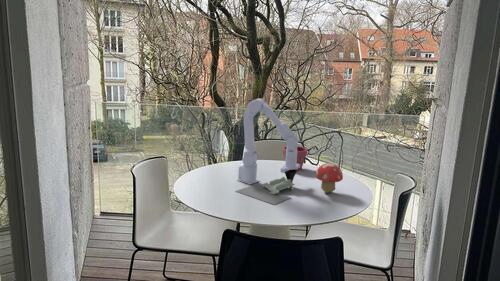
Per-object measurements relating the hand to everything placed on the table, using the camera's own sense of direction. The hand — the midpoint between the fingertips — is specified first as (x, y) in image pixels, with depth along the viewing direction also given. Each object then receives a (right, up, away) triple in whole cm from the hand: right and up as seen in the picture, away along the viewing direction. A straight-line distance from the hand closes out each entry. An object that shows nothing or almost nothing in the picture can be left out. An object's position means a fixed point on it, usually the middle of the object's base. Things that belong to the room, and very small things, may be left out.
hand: (289, 183), depth 194 cm
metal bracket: (-6, -3, -6) cm, 9 cm away
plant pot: (+6, +5, +32) cm, 33 cm away
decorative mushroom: (+18, -4, -7) cm, 20 cm away
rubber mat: (-14, -4, -14) cm, 20 cm away
